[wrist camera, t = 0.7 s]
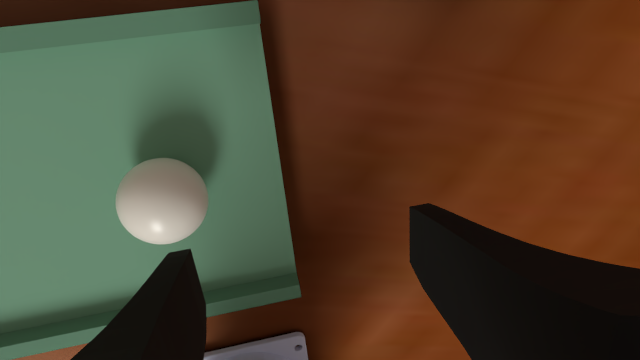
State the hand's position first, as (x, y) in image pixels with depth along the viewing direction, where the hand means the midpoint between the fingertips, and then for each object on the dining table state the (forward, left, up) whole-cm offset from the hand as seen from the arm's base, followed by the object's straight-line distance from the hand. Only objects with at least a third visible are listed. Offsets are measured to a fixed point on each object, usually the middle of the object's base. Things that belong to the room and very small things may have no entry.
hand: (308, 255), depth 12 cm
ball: (0, +5, -6) cm, 8 cm away
